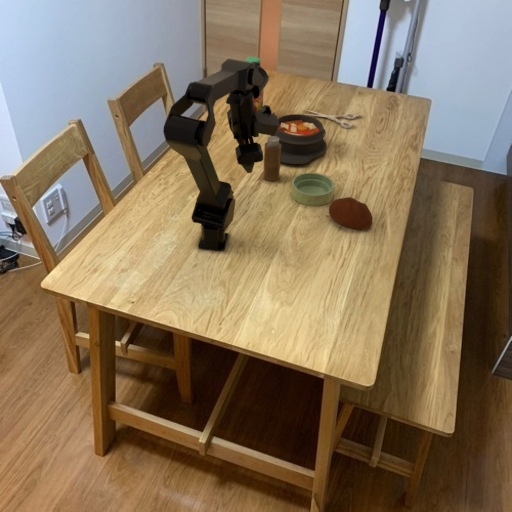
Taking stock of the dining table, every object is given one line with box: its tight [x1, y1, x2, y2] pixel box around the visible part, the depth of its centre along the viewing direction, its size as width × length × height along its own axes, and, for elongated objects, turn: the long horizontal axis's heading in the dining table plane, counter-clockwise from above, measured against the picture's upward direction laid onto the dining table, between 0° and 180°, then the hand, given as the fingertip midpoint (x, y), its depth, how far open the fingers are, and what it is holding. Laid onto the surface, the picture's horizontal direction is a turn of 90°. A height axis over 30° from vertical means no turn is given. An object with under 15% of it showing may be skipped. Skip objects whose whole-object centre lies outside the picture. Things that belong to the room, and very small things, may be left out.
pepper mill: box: [262, 135, 281, 183], centre depth 148 cm, size 5×5×13 cm
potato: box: [328, 196, 374, 230], centre depth 134 cm, size 8×12×8 cm, turn 74°
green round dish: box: [290, 171, 335, 207], centre depth 145 cm, size 12×12×4 cm
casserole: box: [275, 113, 327, 165], centre depth 163 cm, size 25×19×8 cm
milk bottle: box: [245, 56, 265, 112], centre depth 176 cm, size 8×8×20 cm
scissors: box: [304, 109, 362, 129], centre depth 183 cm, size 11×1×20 cm
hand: (246, 160), depth 137 cm, fingers open, 9 cm apart
